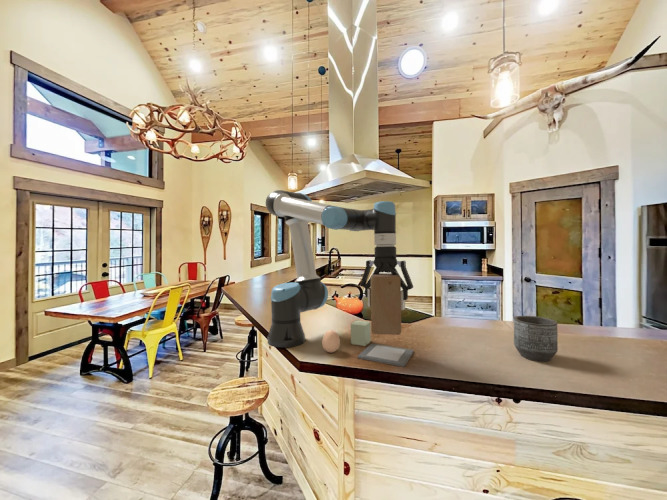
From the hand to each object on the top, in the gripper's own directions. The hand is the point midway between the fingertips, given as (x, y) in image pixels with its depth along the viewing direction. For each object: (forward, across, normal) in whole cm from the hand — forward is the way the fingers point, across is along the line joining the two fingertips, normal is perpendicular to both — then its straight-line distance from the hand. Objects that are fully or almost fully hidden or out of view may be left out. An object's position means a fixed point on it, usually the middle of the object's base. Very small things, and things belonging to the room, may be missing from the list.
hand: (386, 307), depth 99 cm
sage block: (+17, -13, +8) cm, 23 cm away
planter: (+17, +46, +21) cm, 53 cm away
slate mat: (+17, 0, 0) cm, 17 cm away
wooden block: (+8, 0, 0) cm, 8 cm away
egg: (+17, -19, -6) cm, 26 cm away
